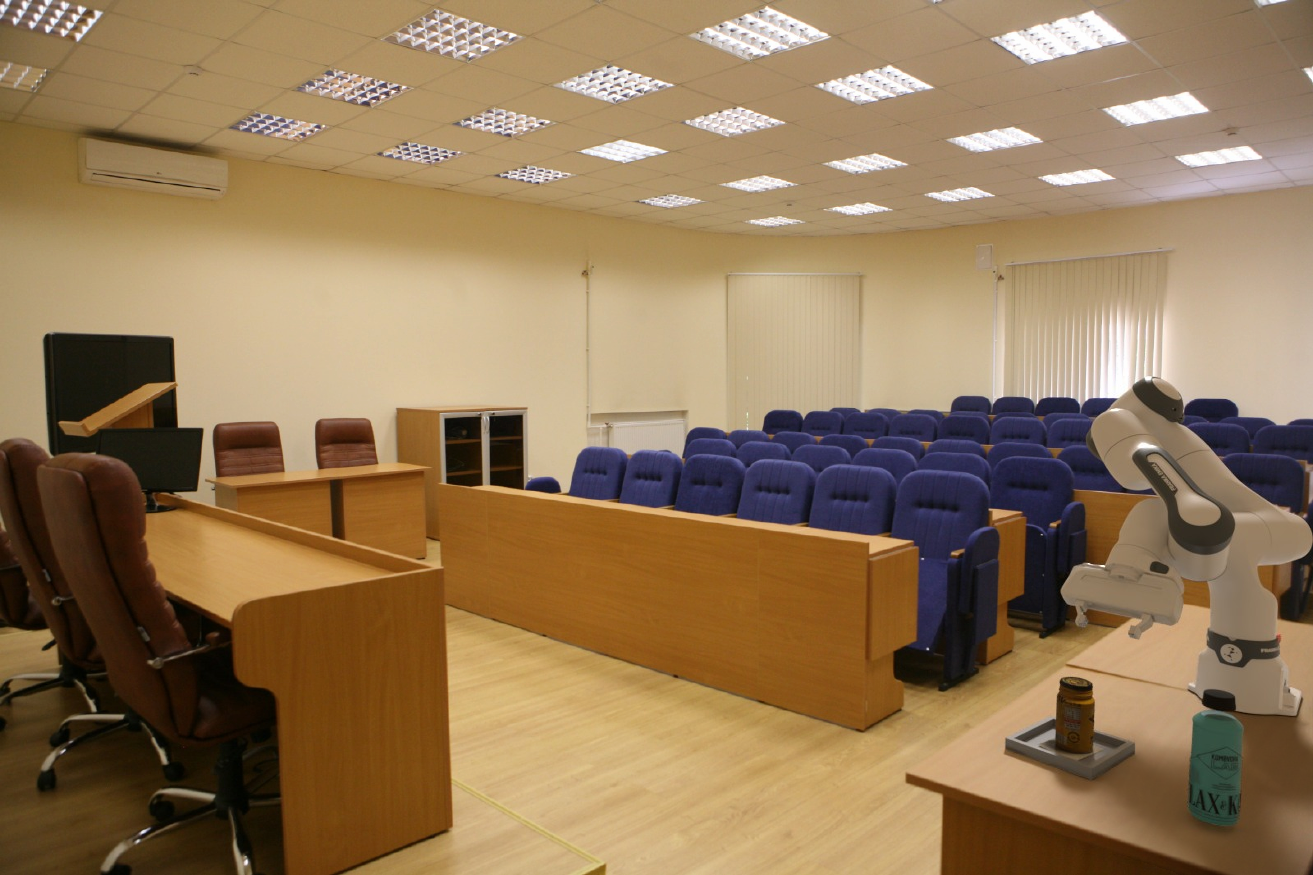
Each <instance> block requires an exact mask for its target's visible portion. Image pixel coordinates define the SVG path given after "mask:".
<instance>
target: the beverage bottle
mask: <svg viewBox="0 0 1313 875" xmlns="http://www.w3.org/2000/svg"><path fill="white" fill-rule="evenodd" d="M1201 704H1202V706H1203V707H1205V708H1206V709H1205V710H1204V709H1203V710H1202V711H1200V712H1197V713H1196V714H1194V715H1193V716H1192V717H1191V718H1192V727H1191V728H1192V729H1191V732H1192V733H1191V746H1190V747H1191V748H1190V757H1189V759H1188V760H1189V771H1188V780H1187V783H1188V791H1187V797H1188V798H1187V802H1186V804H1187V808H1188V811H1189V813H1190V815H1192V816H1193V817H1194V818H1196V819H1197V820H1200V821H1202V822H1205V823H1208V824H1211V825H1217V826H1222V827H1229V826H1234V825H1236V824H1237V823H1238V822H1239V819H1240V815H1241V814H1240V813H1241V810H1240V809H1241V806H1242V805H1241V804H1242V803H1241V802H1242V792H1241V787H1242V786H1241V785H1242V782H1243V781H1242V777H1243V775H1242V765H1243V759H1244V757H1243V754H1242V753H1243V737H1244V736H1243V735H1244V728H1245V727H1244V725H1243V724H1242V723H1241V722H1240V721H1239V720H1238V719H1237V718H1236V717H1235V715H1233V714H1231V712H1236V711H1235V710H1236V701H1235V696H1234V695H1233V694H1232V693H1229V692H1227V691H1223V690H1217V689H1207V690H1204V692H1203V699H1201ZM1207 708H1208V709H1207Z"/></svg>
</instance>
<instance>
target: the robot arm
mask: <svg viewBox="0 0 1313 875" xmlns="http://www.w3.org/2000/svg"><path fill="white" fill-rule="evenodd" d="M1184 408H1185V406H1184V399H1183V397H1182V395H1181V393H1180V392H1179V391H1178V390H1177V389H1176V387H1175V386H1173V384H1171V383H1170V382H1168V380H1167V381H1166V380H1165V379H1162V378H1160V377H1157V376H1151V375H1149V376H1145V377H1143V378H1141V379H1140V380H1138V381H1136V382H1135V383H1133V384H1132V387H1131V388H1129V389H1128V390H1127V391H1125V392H1124V393H1123V394H1121V396H1120V397H1118V398H1117V399H1116V400H1115V401H1114V402H1113V403H1112V404H1110V406H1109V408H1108V409H1107V410H1105V411H1104V412H1101V413H1100V414H1099V415H1097V417H1096V418H1095V419H1094V420H1093V421H1092V424H1091V427H1090V428H1089V430H1088V432H1087V434H1086V436H1085V445H1086V447H1087V449H1088V451H1089V452H1090V453H1091V454H1092V455H1093V456H1094V457H1095V458H1097V459H1098V460H1099V461H1101V462H1103V464H1104V466H1105V467H1106V469H1107V470H1108V472H1109V474H1110V475H1111V476H1112V478H1113V479H1114V480H1115V481H1116V482H1117V483H1118V484H1119V485H1120V486H1122V488H1125V489H1128V490H1131V491H1144V490H1149V489H1152V491H1154V492H1153V493H1155V494H1156V495H1157V497H1158V498H1157V497H1151V498H1145V499H1142V500H1140V501H1138V503H1136V504H1135V505H1134V506H1133V508H1132V509H1131V510H1130V511H1129V513H1128V514H1127V517H1126V518H1125V519H1124V520H1125V521H1124V522H1123V524H1122V526H1121V528H1120V530H1119V534H1118V541H1117V542H1116V543H1115V544H1114V546H1112V549H1111V550H1110V553H1109V556H1108V558H1107V559H1106V562H1105V565H1100V564H1091V563H1088V562H1082V563H1081V564H1077V565H1074V566H1073V567H1072V569H1071V571H1070V574H1069V575H1068V577H1067V579H1066V580H1065V582H1064V583H1063V585H1062V586H1061V588H1060V594H1061V597H1062V599H1063V600H1064V601H1065V603H1066V605H1070V606H1075V609H1076V613H1077V616H1076V618H1075V620H1074V622H1075V624H1076V626H1077V627H1081V628H1087V625H1088V624H1089V619H1088V617H1087V615H1086V614H1085V615H1084V613H1087V610H1092V611H1098V612H1102V613H1103V612H1104V613H1107V614H1112V615H1117V616H1122V617H1126V618H1131V619H1136V620H1140V622H1139V623H1137V624H1136V625H1132V624H1131V625H1130V626H1129V629H1128V631H1127V633H1128V637H1129V638H1131V639H1134V640H1140V638H1141V636H1142V634H1143V633H1144V632H1146V631H1147V630H1149V629H1151V628H1152V627H1153V626H1154V624H1159V625H1160V624H1161V625H1165V626H1169V627H1170V626H1171V627H1172V626H1174V625H1176V624H1179V621H1180V619H1181V616H1182V613H1183V610H1184V598H1183V596H1182V595H1184V592H1185V583H1184V581H1183V579H1185V580H1188V581H1190V582H1191V581H1192V582H1196V583H1207V586H1208V590H1209V600H1210V601H1209V602H1210V604H1209V606H1210V608H1209V609H1210V610H1209V614H1210V615H1209V627H1208V628H1207V631H1206V632H1207V633H1206V636H1205V639H1206V646H1207V647H1206V648H1205V649H1202V650H1201V651H1200V652H1198V655H1197V663H1196V673H1195V674H1196V675H1195V680H1194V681H1193V682H1189V683H1187V687H1186V688H1187V689H1188V690H1189V691H1191V692H1192V693H1195V694H1196V695H1197V696H1198V697H1199V698H1200V699H1201V700H1202V699H1203V692H1204V690H1207V689H1217V690H1223V691H1227V692H1229V693H1232V694H1233V695H1234V696H1235V701H1236V710H1235V711H1234V712H1240V713H1244V714H1245V713H1247V714H1254V715H1280V716H1281V715H1282V716H1291V717H1292V716H1293V717H1294V716H1297V714H1298V711H1299V708H1300V704H1301V700H1302V696H1303V695H1302V691H1301V690H1300V689H1297V688H1295V687H1292V686H1289V678H1290V677H1289V676H1290V673H1289V672H1290V668H1289V667H1288V666H1287V664H1286V663H1285V662H1284V661H1283V659H1282V658H1281V657H1280V654H1281V650H1280V649H1281V641H1282V634H1281V633H1277V631H1278V629H1277V628H1278V610H1279V609H1278V605H1279V603H1278V600H1277V597H1276V596H1275V594H1274V593H1272V592H1271V591H1270V590H1269V589H1267V588H1266V587H1264V586H1263V585H1262V584H1263V583H1261V580H1260V576H1259V571H1258V568H1259V566H1275V565H1283V564H1286V563H1290V562H1293V561H1296V560H1299V559H1302V558H1303V557H1305V556H1306V555H1307V554H1308V553H1310V550H1311V549H1312V547H1313V532H1312V529H1311V528H1310V526H1309V524H1308V522H1306V520H1305V519H1303V518H1302V517H1301V516H1300V515H1298V514H1295V513H1291V512H1289V511H1287V510H1285V509H1283V508H1281V507H1278V506H1276V505H1274V504H1273V503H1271V502H1270V501H1268V500H1267V499H1266V498H1264V497H1262V496H1261V495H1259V494H1258V493H1257V492H1255V491H1253V489H1251V488H1250V487H1248V486H1247V485H1245V484H1244V483H1243V482H1241V481H1240V480H1239V479H1238V478H1237V477H1236V476H1235V474H1233V472H1232V471H1231V470H1230V469H1229V468H1228V467H1227V466H1226V465H1225V463H1224V462H1223V461H1222V460H1221V459H1220V458H1219V457H1218V455H1217V454H1216V453H1215V452H1214V450H1213V449H1211V447H1210V446H1209V445H1208V444H1207V443H1206V442H1205V441H1204V440H1203V439H1202V438H1200V436H1199V435H1198V434H1196V433H1195V432H1194V431H1192V430H1191V429H1190V428H1188V427H1187V426H1186V425H1183V424H1182V423H1184V421H1185V419H1186V416H1185V413H1184Z"/></svg>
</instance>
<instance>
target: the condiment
mask: <svg viewBox="0 0 1313 875" xmlns="http://www.w3.org/2000/svg"><path fill="white" fill-rule="evenodd" d="M1093 688H1094V685H1093V683H1092V682H1091V681H1090V680H1089V679H1086V678H1082V677H1078V676H1064V677H1060V679H1059V687H1058V692H1057V693H1056V702H1055V703H1056V707H1055V708H1056V709H1055V710H1056V711H1055V712H1056V713H1055V717H1056V734H1055V738H1054V739H1051V740H1048V741H1045V742H1043V743H1040V744H1038V745H1039V746H1042V747H1043V748H1045V749H1048V750H1050V751H1052V752H1055V753H1057V754H1060V755H1063V756H1066V757H1068V758H1071V759H1074V760H1077V761H1078V760H1080V759H1083V758H1085V757H1087V756H1090V755H1093V754H1095V753H1097V752H1099V751H1102V750H1103V749H1104V748H1101V747H1098V746H1095V745H1093V741H1094V730H1095V711H1096V710H1095V708H1096V703H1095V702H1096V700H1095V698H1094V697H1093V696H1094V690H1093Z"/></svg>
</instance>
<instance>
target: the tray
mask: <svg viewBox="0 0 1313 875" xmlns="http://www.w3.org/2000/svg"><path fill="white" fill-rule="evenodd" d="M1055 734H1056V716H1053V715H1050V716H1047V717H1046V718H1043V719H1041V720H1039V721H1037V722H1035V723H1033V724H1032V725H1031V724H1030V725H1028V726H1027V727H1025V728H1023V729H1021V730H1019V731H1016V732H1014V733H1012V734H1010V735H1008V736H1007V737H1005V739H1004V740H1005V741H1004V744H1005V745H1004V749H1005V750H1007V751H1011V752H1013V753H1016V754H1019V755H1021V756H1024V757H1027V758H1029V759H1032V760H1035V761H1038V762H1041V763H1043V764H1046V765H1049V766H1051V767H1054V768H1057V769H1059V770H1062V771H1065V772H1067V773H1069V774H1073V775H1076V776H1078V777H1081V778H1084V779H1087V780H1090V781H1093V780H1095V779H1096V778H1098V777H1099V776H1101V775H1103V774H1105V773H1106V772H1107V771H1109V770H1110V769H1113V768H1114V767H1116V766H1117V765H1119V764H1121V763H1122V762H1124V761H1126V760H1127V759H1128V758H1130V757H1132V756H1133V755H1135V754H1136V742H1135V741H1132V740H1129V739H1125V738H1122V737H1119V736H1115V735H1114V734H1113V735H1112V734H1110V733H1106V732H1104V731H1100V730H1098V729H1097V730H1096V729H1094V741H1093V745H1095V746H1098V747H1101V748H1104V749H1103V750H1102V751H1099V752H1097V753H1095V754H1093V755H1090V756H1087V757H1085V758H1083V759H1080V760H1078V761H1077V760H1074V759H1071V758H1068V757H1066V756H1063V755H1060V754H1057V753H1055V752H1052V751H1050V750H1048V749H1045V748H1043V747H1042V746H1039V745H1038V744H1040V743H1043V742H1045V741H1048V740H1051V739H1054V738H1055Z"/></svg>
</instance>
